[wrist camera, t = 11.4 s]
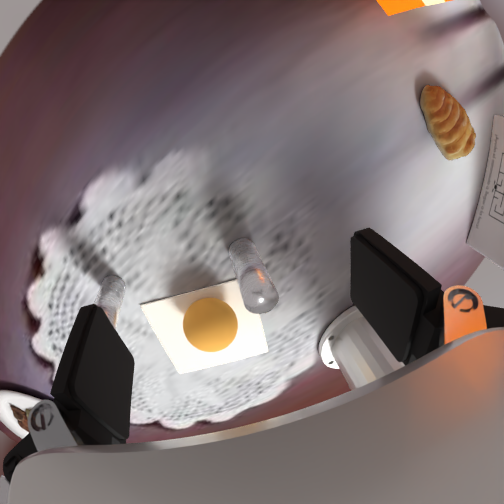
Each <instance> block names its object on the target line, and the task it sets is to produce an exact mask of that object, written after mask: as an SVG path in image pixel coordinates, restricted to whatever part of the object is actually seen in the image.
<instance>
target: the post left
mask: <svg viewBox="0 0 504 504" xmlns="http://www.w3.org/2000/svg"><path fill="white" fill-rule="evenodd" d="M125 290H126V285H125V283H124V281H123V280H122V279H121V278H119V277H118V276H114V275H110V276H107V277H105V278H104V280H103V282H102V284H101V287H100V289H99V292H98V294H97V297H96V299H95V302H94V304H96V305H97V306H98V307H101V308H102V309H103V310H104V312H105V314H106V315H107V317H108V319H109V320H110V322H111V324H112V325H113V327H114V328H115V329H116V325H117V321H118V317H119V313H120V309H121V305H122V301H123V298H124V294H125Z"/></svg>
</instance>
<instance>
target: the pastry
mask: <svg viewBox="0 0 504 504" xmlns="http://www.w3.org/2000/svg"><path fill="white" fill-rule="evenodd" d="M420 106H421V109H422V111H423V113H424V116H425V120H426V124H427V129H428V131H429V133H430V134H431V135H432V137H433V139H434V141H435V143H436V145H437V147H438V148H439V150H440V151H441V152H442V154H443V155H444V156H445V158H446V159H447V160H453V159H458V158H460V157H464V156H467V155H468V154H469V153H470V152H471V151H472V149H473V147H474V145H475V137H476V134H475V133H474V129H473V128H472V126H471V124H470V120H469V118H468V116H467V114H466V111H465V109H464V108H463V107H462V106H461V105H460V104H459V103H458V101H457V100H456V99H455V98H454V97H452V96H451V94H449V93H447V92H446V91H445V90H443V89H442V88H441V87H440V86H430V85H426V86H425V87H424V89H423V91H422V94H421V98H420Z"/></svg>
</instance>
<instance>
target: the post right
mask: <svg viewBox="0 0 504 504" xmlns="http://www.w3.org/2000/svg"><path fill="white" fill-rule="evenodd" d="M229 256H230V259H231V263H232V266H233V269H234V273H235V276H236V279H237V283H238V286H239V289H240V293H241V296H242V299H243V302H244V306H245V308H246V309H247V310H248V311H249V312H251V313H254V314H262V313H266V312H268V311H270V310H271V309H273V308H274V307H275V306H276V304H277V302H278V299H279V295H278V292H277V290H276V288H275V286H274V284H273V282H272V280H271V278H270V276H269V274H268V272H267V270H266V268H265V266H264V264H263V262H262V260H261V258H260V255H259V253H258V251H257V249H256V247H255V245H254V244H253V242H252V241H250V240H249V239H245V238H241V239H237V240H235V241H234V242H233V243H232V244H231V245H230V247H229Z"/></svg>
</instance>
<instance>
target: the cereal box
mask: <svg viewBox="0 0 504 504" xmlns="http://www.w3.org/2000/svg"><path fill="white" fill-rule="evenodd" d="M467 244H468V245H469V246H470V247H472V248H473V249H475V250H476V251H478V252H479V253H481V254H482V255H483V256H485V257H486V258H488V259H489V260H491V261H492V262H493V263H495V264H496V265H497V266H499V267H500V268H501V269H503V270H504V116H500V115H494V118H493V128H492V136H491V143H490V150H489V156H488V162H487V167H486V172H485V177H484V182H483V186H482V190H481V194H480V198H479V202H478V206H477V210H476V213H475V217H474V220H473V223H472V227H471V230H470V233H469V236H468V239H467Z"/></svg>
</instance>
